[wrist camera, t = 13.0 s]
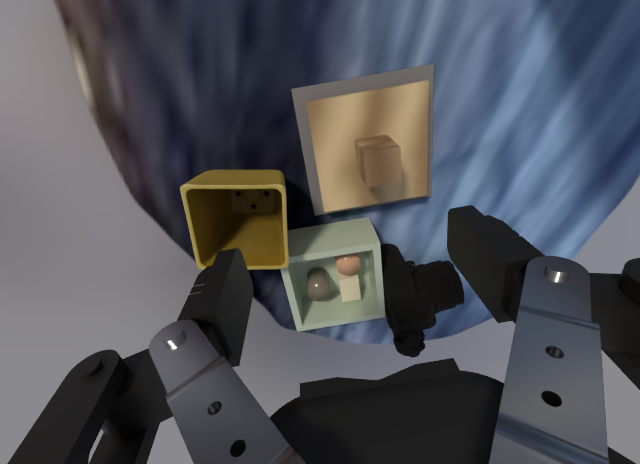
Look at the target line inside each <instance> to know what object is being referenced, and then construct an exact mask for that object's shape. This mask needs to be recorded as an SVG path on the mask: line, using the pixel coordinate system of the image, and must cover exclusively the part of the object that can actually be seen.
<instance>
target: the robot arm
mask: <svg viewBox="0 0 640 464" xmlns="http://www.w3.org/2000/svg"><path fill="white" fill-rule="evenodd" d="M447 248H448V253H449V256H450V258H451V260H452V261H453V263H454V264H455V265H456V267H457V268H458V270H459V271H460V272H461V274H462V275H463V276H464V278H465V279H466V280H467V282H468V283H469V284H470V286H471V287H472V288H473V290H474V291H475V293H476V294H477V295H478V297H479V298H480V299H481V301H482V302H483V303H484V305H485V306H486V307H487V309H488V310H489V311H490V313H491V314H492V315H493V317H494V318H495V320H496V321H497V322H498V323H501V322H506V321H513V322H514V323H515V324H516V325H515V331H514V336H513V342H512V347H511V352H510V357H509V362H508V367H507V372H506V378H505V383H502V382H500V381H498V380H496V379H493V378H490V377H488V376H485V375H481V374H478V373H474V372H467V371H460V370H459V368H458V366H457V364H456V362H455V361H454V359H453V358H451V359H445V360H439V361H433V362H427V363H421V364H415V365H413V366H410V367H408V368H406V369H404V370H401V371H399V372H397V373H394V374H392V375H390V376H387V377H385V378H383V379H380V380H366V379H353V378H339V377H336V378H330V379H324V380H319V381H312V382H306V383H300V397H298V398H295V399H293V400H292V401H290V402H288V403H287V404H285V405H284V406H282V407H281V408H280V409H278V410H277V411H276V412H275V413H274V414H273V415H272V416H271V417H270V418H269V417H268V416H267V414H266V413H265V411H264V410H263V409H262V407H261V406H260V405H259V403H258V402H257V400H256V399H255V398H254V396H253V395H252V394H251V393H250V391H249V390H248V388H247V387H246V386H245V384H244V383H243V382H242V380H241V379H240V377H239V376H238V375H237V373H236V372H235V371H234V369H233V368H232V367H235V366H239V364H240V358H241V354H242V348H243V343H244V339H245V333H246V328H247V323H248V318H249V313H250V308H251V302H252V298H253V284H252V280H251V277H250V274H249V271H248V269H247V266H246V263H245V260H244V258H243V255H242V252H241V250H240V249H239V248H233V249H228V250H223V251H219V252H218V253H217V255H216V258H215V260H214V262H213V265H211V266H207V267H206V268H205V269H204V270H203V271H202V272H201V273H200V274H199V275H198V277H197V279H196V281H195V283H194V287H193V288H192V289H191V292H190V295H189V296H188V298H187V300H186V302H185V304H184V307H183V309H182V311H181V313H180V315H179V317H178V319H177V321H176V322H174V323H171V324H170V325H167V326H166V327H165V328H163V329H162V330H160V331H159V332H158V333H157V334H156V335H155V336H154V337H153V339H152V341H151V343H150V345H149V348H148V349H146V350H144V351H142V352H139V353H136V354H134V355H132V356H129V357H127V358H125V359H122V358H121V357H120V356H119V355H118V353H117V352H116V351H114V350H103V351H100V352H97V353H95V354H92V355H91V356H89V357H87V358H85V359H84V360H83V361H81V362H80V363H78V364H77V365H76V366H75V367H74V368H73V369H72V370H71V371H70V372H69V373H68V375H67V376H66V377H65V379H64V380H63V382H62V383H61V385H60V386H59V388H58V389H57V391H56V392H55V394H54V395H53V397H52V398H51V400H50V401H49V403H48V404H47V406H46V407H45V409H44V410H43V412H42V413H41V415H40V416H39V418H38V419H37V421H36V422H35V424H34V425H33V426H32V428H31V430H30V431H29V433H28V434H27V436H26V437H25V438H24V440H23V441H22V443H21V444H20V446H19V447H18V449H17V450H16V452H15V453H14V455H13V456H12V458H11V459H10V461H9V462H8V464H88V459H89V454H90V450H91V448H92V446H93V444H94V442H95V440H96V437H97V436H98V434H99V432H100V429H102V430H103V431H104V433H103V435H102V437H101V440H100V441H99V444H98V446H97V448H96V450H95V452H94V454H93V457H92V458H91V461H90V463H89V464H146V463H147V460H148V457H149V454H150V451H151V448H152V445H153V442H154V439H155V436H156V433H157V430H158V427H159V424H160V422H162V421H164V420H166V419H168V418H170V417H173V416H174V419H175V421H176V423H177V426H178V428H179V430H180V433H181V435H182V437H183V440H184V442H185V444H186V447H187V449H188V451H189V454H190V456H191V458H192V461H193V463H194V464H635V463H634V462H632V461H631V460H629V459H628V458H626V457H624V456H623V455H621V454H619V453H618V452H616V451H615V450H613V449H611V448H610V447H608V446H607V431H606V416H605V401H604V385H603V369H602V354H601V350H603V351H604V352H605V353H606V355H607V356H608V357H609V358H610V359H611V360H612V361H613V362H614V363H615V364H616V365H617V366H618V367H619V368H620V369H621V371H622V372H623V373H624V374H625V375H626V376H627V377H628V378H629V379H630V380H631V381H632V382H633V383H634V384H635V385H636V386H637V388H638V389H639V390H640V258H636V259H632V260H629V261H628V262H627V263H626V264H625V266H624V268H623V271H622V274H603V273H588V271H587V270H586V269H585V268H584V267H583V266H582V265H580V264H578V263H576V262H574V261H572V260H569V259H566V258H562V257H556V256H545V255H544V254H542V253H541V252H540V251H539V250H537V249H536V248H535V247H534V246H533V245H531V244H530V243H529V242H528V241H526V240H525V239H524V238H523V237H522V236H519V234H518V233H517V232H515V231H514V230H512V228H511V227H509V226H508V225H507V224H506V223H504V222H503V221H502V220H499V219H497V218H494V217H492V216H489V215H487V216H484V215H483V214H482V213H481V212H479V211H478V210H477V209H476V208H475V207H474V206H472V205H469V206H463V207H458V208H452V209H450V210H449V212H448V230H447Z"/></svg>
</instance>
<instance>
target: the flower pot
mask: <svg viewBox="0 0 640 464" xmlns="http://www.w3.org/2000/svg"><path fill="white" fill-rule="evenodd" d="M180 191H181V195H182V200H183V204H184V209H185V213H186V217H187V221H188V226H189V231H190V235H191V240H192V244H193V250H194V254H195V259H196V263H197V266H198V268H199V269H201V270H204V269H205V268H206V267H207V266H211V265H213V262H214V260H215V258H216V255H217V253H218V252H219V251H223V250H228V249H233V248H239V249H240V250H241V252H242V255H243V258H244V260H245V263H246V266H247V269H283V268H288V266H289V251H288V233H287V207H286V187H285V179H284V175H283V173H282V172H281V171H279V170H210V171H206V172H204V173H202V174H200V175H198V176H197V177H195V178H193V179H192V180H190V181H188V182H187V183H185V184H184V185H182V186H181V187H180ZM237 191H239V192H240V193H241V195H239V196H238V195H236V192H237ZM265 191H268V192H269V195H267V196H266V195H265V194H264V192H265ZM252 204H255V205H256V208H252V207H251V205H252Z"/></svg>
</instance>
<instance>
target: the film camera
mask: <svg viewBox="0 0 640 464" xmlns="http://www.w3.org/2000/svg"><path fill="white" fill-rule="evenodd" d="M380 249H381V263H382V277H383V291H384V305H385V312H386V317H387V321H388V324H389V327H390V328H391V329H392V332H393V335H394V338H393V340H394V344H395V347H396V349H397V351H398V352H399V353H401V354H402V355H405V356H410V357H416V356H418V355H419V354H420V352H421V351H422V350H423V349H424V348H425V344H424V342H423V341H424V338H425V335H424V333H423V331H422V330H424V329H428V328H431V327H433V326H434V325H435V324H436V318H435V313H439V311H443V310H447V309H451V308H454V307H455V306H456V305H458V304H463V303H464V291H463V286H462V282H461V280H460V277H459V274H458V273H457V272H456V271H455V269H454V265H453V264H452V263H451V262H450V261H443V262H442V261H435V262H431V263H428V264H425V265H424V264H421V265H418V266H416V267H415V264H414V262H413V261H407V262H405V261H404V259H403V258H402V256H401V254H400V252H399V249H398V248H397V246H395V245H393V244H384V245H380ZM412 264H414V266H413V265H412Z"/></svg>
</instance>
